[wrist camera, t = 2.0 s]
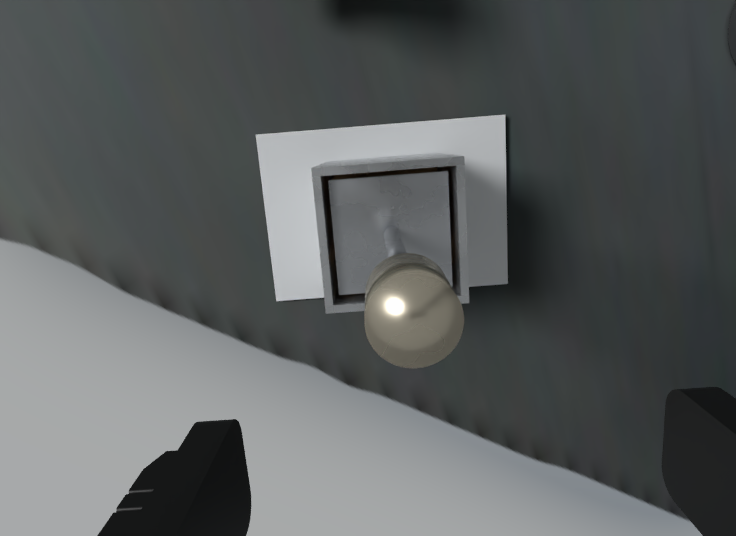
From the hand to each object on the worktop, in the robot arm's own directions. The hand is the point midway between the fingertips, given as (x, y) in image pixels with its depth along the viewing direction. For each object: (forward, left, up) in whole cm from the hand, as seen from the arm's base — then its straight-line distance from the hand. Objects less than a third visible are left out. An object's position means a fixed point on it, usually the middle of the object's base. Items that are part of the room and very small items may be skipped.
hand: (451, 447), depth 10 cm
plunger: (0, 0, -24) cm, 24 cm away
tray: (0, 0, -35) cm, 35 cm away
